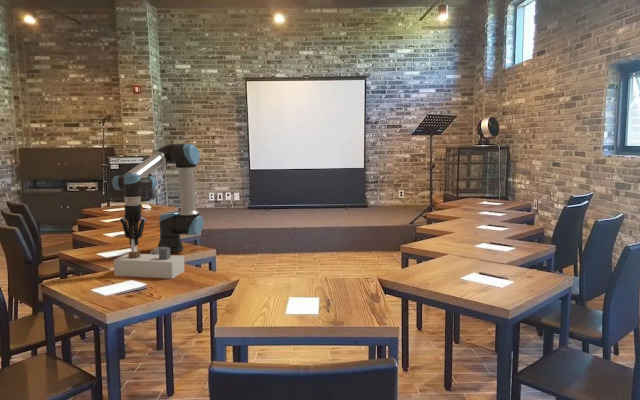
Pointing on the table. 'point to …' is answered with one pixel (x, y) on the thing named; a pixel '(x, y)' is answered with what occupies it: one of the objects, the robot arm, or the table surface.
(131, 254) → the walnut peg
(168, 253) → the charcoal peg
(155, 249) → the cup
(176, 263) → the grey rectangular block
